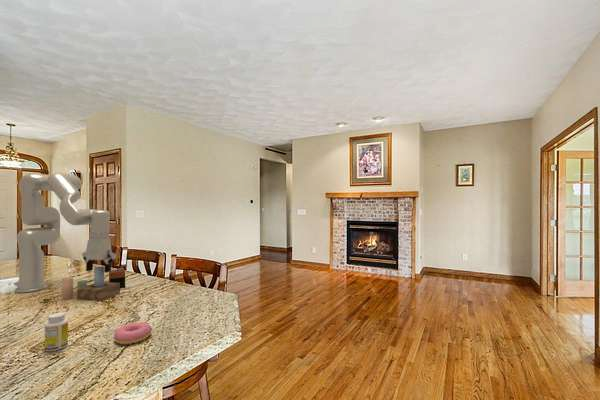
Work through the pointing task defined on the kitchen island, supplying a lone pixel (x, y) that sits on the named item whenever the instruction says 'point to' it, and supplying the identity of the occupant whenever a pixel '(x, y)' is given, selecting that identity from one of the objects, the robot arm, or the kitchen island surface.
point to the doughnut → (132, 333)
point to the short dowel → (81, 283)
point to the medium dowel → (67, 288)
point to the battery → (117, 277)
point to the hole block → (98, 291)
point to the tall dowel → (99, 276)
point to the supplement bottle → (56, 332)
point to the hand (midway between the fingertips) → (98, 271)
